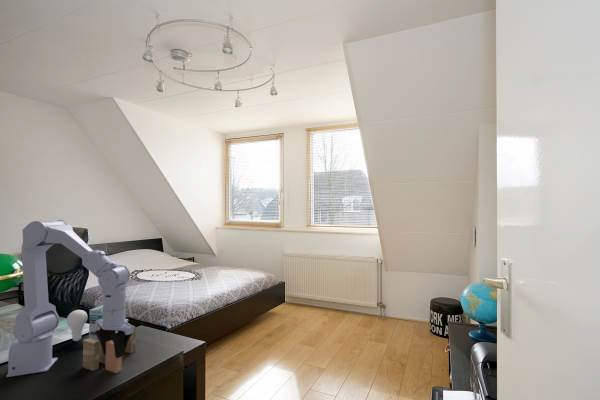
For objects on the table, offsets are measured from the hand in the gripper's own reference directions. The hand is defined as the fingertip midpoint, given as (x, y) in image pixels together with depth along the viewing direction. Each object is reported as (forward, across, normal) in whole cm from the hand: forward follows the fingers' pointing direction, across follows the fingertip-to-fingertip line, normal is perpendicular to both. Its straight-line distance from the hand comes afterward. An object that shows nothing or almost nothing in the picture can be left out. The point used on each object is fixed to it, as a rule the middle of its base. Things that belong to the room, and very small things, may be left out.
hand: (113, 354), depth 91 cm
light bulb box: (+5, +27, -16) cm, 32 cm away
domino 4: (+4, +8, -10) cm, 13 cm away
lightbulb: (+5, +32, -7) cm, 33 cm away
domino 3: (+4, 0, 0) cm, 4 cm away
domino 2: (+4, +8, -2) cm, 9 cm away
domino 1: (+4, +8, +2) cm, 9 cm away
